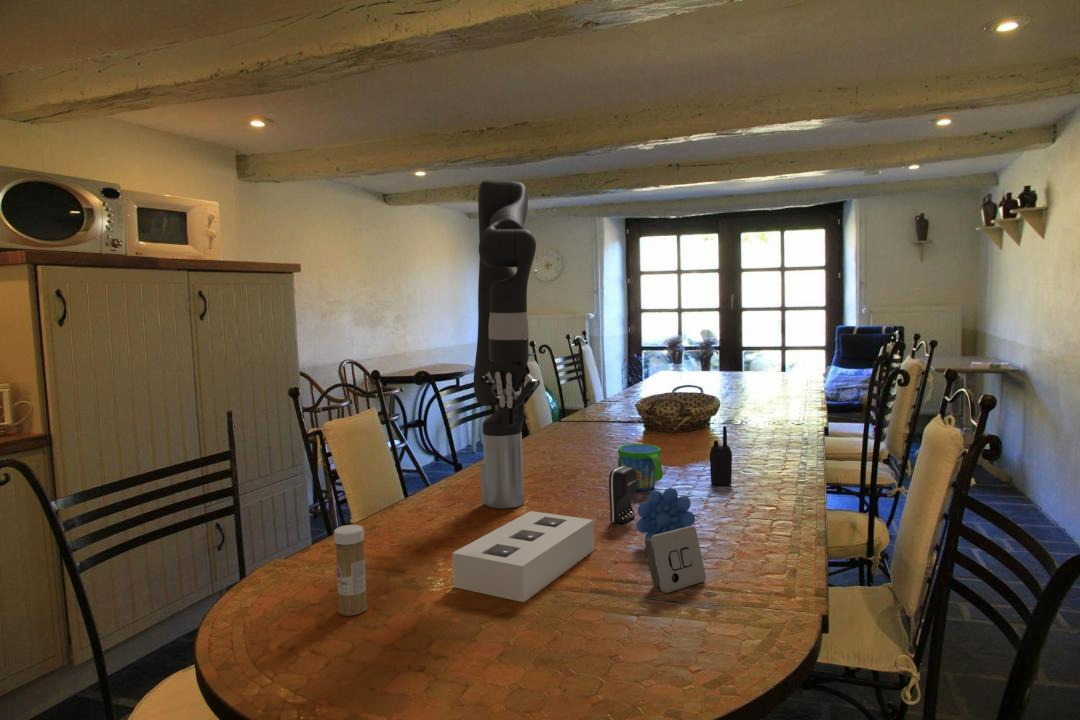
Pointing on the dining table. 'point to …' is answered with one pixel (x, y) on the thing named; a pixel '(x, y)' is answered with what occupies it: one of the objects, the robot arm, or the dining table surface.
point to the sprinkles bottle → (350, 569)
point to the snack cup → (642, 463)
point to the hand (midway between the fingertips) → (509, 426)
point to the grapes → (664, 513)
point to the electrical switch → (675, 559)
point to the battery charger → (622, 493)
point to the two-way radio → (721, 462)
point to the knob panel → (523, 556)
